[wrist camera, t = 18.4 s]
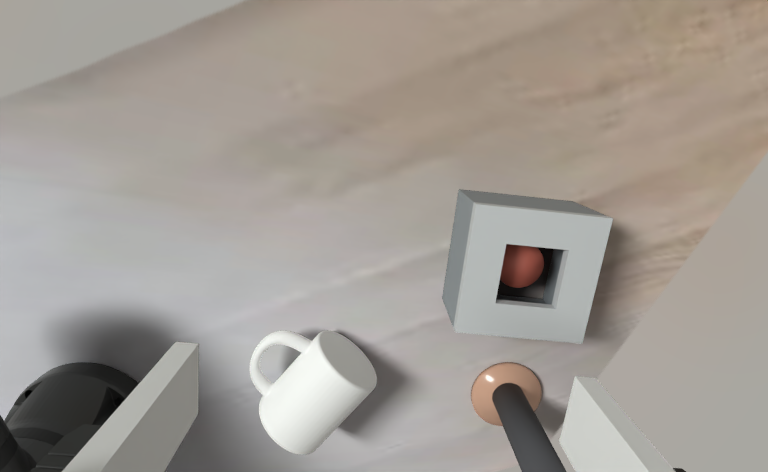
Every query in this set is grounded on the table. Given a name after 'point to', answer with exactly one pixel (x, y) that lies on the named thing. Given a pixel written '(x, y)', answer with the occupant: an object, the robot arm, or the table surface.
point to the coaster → (495, 378)
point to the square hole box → (527, 228)
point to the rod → (525, 431)
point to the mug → (311, 388)
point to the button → (521, 265)
